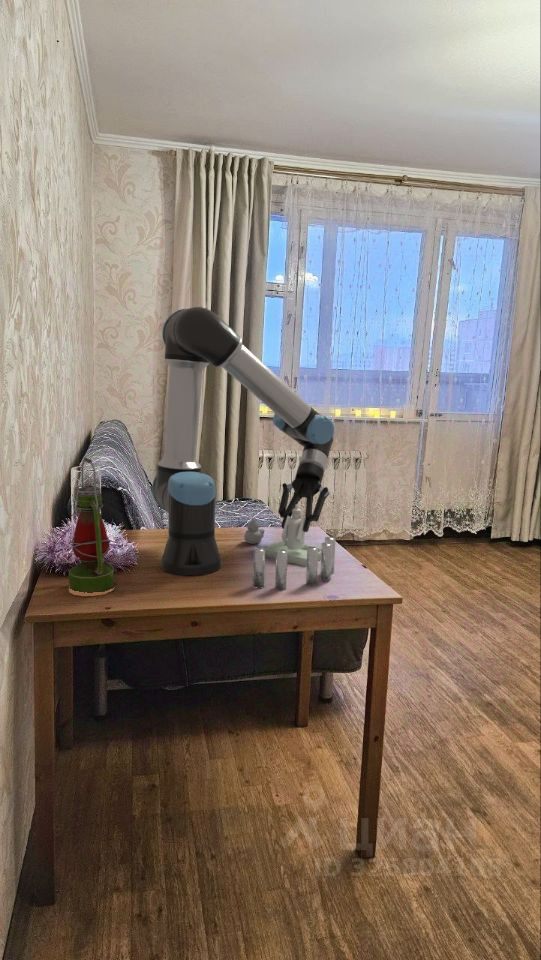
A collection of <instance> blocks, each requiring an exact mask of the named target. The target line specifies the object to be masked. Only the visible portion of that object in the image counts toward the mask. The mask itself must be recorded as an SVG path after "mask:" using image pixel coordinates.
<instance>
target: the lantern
mask: <svg viewBox="0 0 541 960" xmlns="http://www.w3.org/2000/svg"><path fill="white" fill-rule="evenodd" d="M85 462H86V463H88V464H90V465H91V468H92V471H93V485H92V478H91V477H90V475H89V476H87V485H84V465H85ZM96 474H97V473H96V470H95V466H94V463H93V461H92V460H91V459H89V458H88V457H85V458H83V460H82V463H81V487H79V488H78V489H77V499H76V501H77V505H75V508H76V509H79V510H80V512H79V514H78V518H77V519H76V521H77V522H76V524H75V530H74V536H73V538H72V539H71V541H70V543H71V544H72V546H71V547H70V548H71V549H72V552H73V555H74V556H75V557H76V558H78V560H79V561H81V562H80V563H78V564H76V565H75V566H73V567H71V568H70V569H69V570H68V586H70V589H72V590H74V591H79V592H84V593H85V592H87V593H93V592H105V591H108V590H110V589H113V588H114V587H115V585H116V583H115V582H116V581H115V568H114V566H113V565H112V564H111V563H110V562H108V561H104V557H105V556H106V555H107V554H108V553H109V550H110V543H111V540H110V538H109V536H108V535H107V534H108V533H107V530H106V525H105V523H104V521H103V517H102V515H101V512H100V509H102V508H103V507H104V503H103V501H102V500H103V499H102V493H101V492H102V489H101V487H97V478H96Z"/></svg>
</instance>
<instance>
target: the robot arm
mask: <svg viewBox="0 0 541 960" xmlns="http://www.w3.org/2000/svg"><path fill="white" fill-rule="evenodd" d="M161 332H162V333H161V335H162V336H161V337H162V340H163V343H164V346H165V347H164V348H165V349H164V361H165V362H166V363H167V365H168V367H169V375H168V376H169V377H168V392H167V405H166V408H167V409H166V419H165V420H166V423H165V432H164V433H165V434H164V435H165V438H164V450H163V451H164V452H163V458H162V459H160V460H159V461H158V462H157V468H156V469H157V470H156V475H155V477H154V479H153V481H152V486H151V490H152V497H153V498H154V500H155V502H156V503H157V506H158V507H160V508H161V509H162V510H164V511H165V512H166V513H167V515H168V516H167V517H168V523H167V524H168V537H167V541H166V544H165V547H164V551H163V554H162V556H161V568H162V570H163V571H165V572H167V573H171V574H174V575H179V576H199V575H200V576H202V575H206V574H210V573H213V572H216V571H218V570H220V569H221V567H222V555H221V553H220V551H219V547H218V543H217V541H216V540H217V539H216V534H215V531H216V530H215V528H216V526H215V523H216V521H215V520H216V495H217V492H216V483H215V480H214V478H212V477H211V476H210V475H208V474H206V473H202V472H201V471H202V466H201V464H200V463H199V461H198V460H197V450H198V440H199V439H198V437H199V426H200V425H199V424H200V423H199V422H200V411H201V398H202V385H203V371H204V369H206V367H208V366H209V365H210V364H211V365H213V366H214V367H215V368H222V369H224V370H225V371H226V372H227V373H228V374H229V375H230V376H232V377H233V378H234V379H235V380H237V382H239V383H240V384H241V385H242V386H243V387H244V388H246V389H247V390H248V391H249V392H250V393H252V394H253V395H254V396H255V397H256V398H257V399H258V400H259V401H261V402H262V403H263V404H264V405H265V406H266V407H268V408H269V410H271V411H272V412H273V413H274V415H273V416H272V417H273V418H272V424H273V425H274V426H275V427H276V428H277V429H279V431H281V432H283V434H286V435H287V436H288V437H290V438H291V439H293V440H294V442H297V443H298V444H299V445H301V446H302V447H303V449H302V452H301V456H300V460H299V462H298V466H297V470H296V473H295V477H294V479H293V480H292V482H291V483H288V484H287V483H286V482H284V483H282V485H281V486H282V494H281V498H280V502H279V507H278V514H279V516H280V518H282V522H281V528H282V533H281V539H282V541H283V542H286V541H287V540H288V522H289V520H290V519H291V518H292V510H293V509H294V508H295V505H296V504H298V503H299V502H300V501H301V499H303V498H305V499H306V501H305V502H306V504H305V505H306V507H305V514H304V516H305V517H301V518H302V521H301V524H300V528H299V531H298V535H297V541H298V544H301V543H302V539H303V535H304V532H305V533H308V532H309V529H310V526H311V523H312V522H318V521H319V520H320V516H321V514H322V510H323V507H324V504H325V502H326V499H327V497H329V495H330V492H329V487H323V486H322V482H323V478H324V475H325V471H326V470H325V469H326V466H327V464H328V460H329V459H328V458H329V456H330V452H331V448H332V445H333V443H334V437H335V425H334V422H333V421H332V419H331V418H330V417H328V416H326V415H323V414H320V413H319V412H318V411H317V410H315V409H314V408H313V407H312V406H311V405H309V404H308V402H306V401H305V400H304V399H303V398H302V397H301V396H300V395H299V394H297V392H296V391H295V390H293V389H292V388H291V387H290V386H289V385H288V384H287V383H286V382H285V381H284V380H283V379H281V378H280V377H279V376H278V374H276V373H275V372H274V371H273V370H271V369H270V368H269V367H268V366H267V365H266V364H265V363H263V361H262V360H261V359H259V358H258V356H256V355H255V354H254V353H253V352H252V351H250V350H249V349H248V348H247V347H246V346H245V344H243V341H242V340H243V339H242V337H241V335H239V334H238V333H237V332H236V331H235V330H234V329H233V328H232V327H230V325H228V324H227V323H226V322H225V321H224V320H223V319H222V318H221V317H220V316H219V315H217V313H215V312H214V311H212V310H210V309H208V308H205V307H202V306H193V307H189V308H181V309H178V310H176V311H174V312H173V313H171V314H170V315H169V316H168V317H167V318H166V319H165V321H164V323H163V327H162V331H161ZM292 490H293V491H294V492H293V495H292V497H291V499H290V501H289V496H290V493H291V492H292ZM318 493H319V495H318V497H317V499H316V504H315V507H314V509H313V503H314V497H315V495H317V494H318ZM298 505H299V504H298Z"/></svg>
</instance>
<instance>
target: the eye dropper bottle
mask: <svg viewBox="0 0 541 960" xmlns="http://www.w3.org/2000/svg"><path fill="white" fill-rule="evenodd" d="M302 518H303V517H302V509H300V508H299V504H296V505H295V508H294V509H293V510H292V516H291V519H290V520H289V522H288V537H287V548H288V549H290V550H298V549H301V548H303V547H304V545H305V537H306V536H305V535H306V532H304V535H303V539H302V543H301V544H298V541H297V535H298V531H299V528H300V524H301V521H302Z"/></svg>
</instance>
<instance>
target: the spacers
mask: <svg viewBox="0 0 541 960" xmlns="http://www.w3.org/2000/svg"><path fill="white" fill-rule="evenodd" d="M317 547H318V546H315V547H308V548H307V566H306V570H305V571H306V574H305V576H306V577H305V585H306V586H307V587H316V586H317V585H318V569H319V568H318V567H319V565H318V564H319V563H318V548H317ZM263 548H264V547H263ZM263 548H262V547H255V548H254V549H253V568H252V569H253V573H252V574H253V579H252V587H253V586H254V587H257V588H256V589H262V588H261V587H263V588H265V568H266V566H265V565H266V564H265V561H266V557H265V549H263ZM321 548H322V549H321V560H320V571H319V572H320V574H319V575H320V577H319V579H320V581H322V582H331V581H332V575H333V574H334V573H335V559H336V558H335V555H336V537H334V536H326V537H324V542H322V543H321ZM287 571H288V562H287V550H277V551H276V559H275V576H274V577H275V580H274V581H275V582H274V583H275V584H274V585H275V586H274V589H275V588H276V589H275V590H277V589H278V590H277V591H285V590H287V574H288V572H287ZM254 587H253V588H254Z"/></svg>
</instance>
